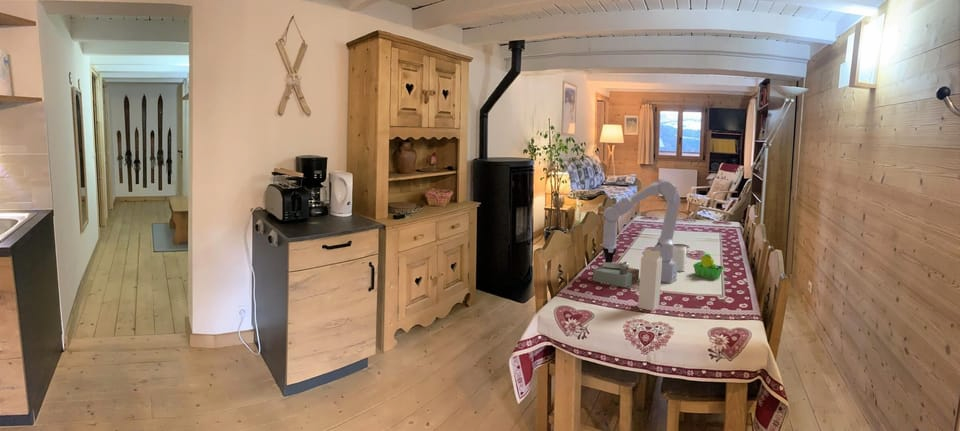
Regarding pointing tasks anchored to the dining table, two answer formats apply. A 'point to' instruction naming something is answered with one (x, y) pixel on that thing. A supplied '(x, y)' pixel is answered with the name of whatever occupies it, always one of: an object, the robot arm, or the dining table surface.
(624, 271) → the grey-green rectangular block
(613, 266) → the lock bar
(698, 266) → the fruit basket
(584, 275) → the dining table surface
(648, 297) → the milk
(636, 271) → the jamb
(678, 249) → the can
